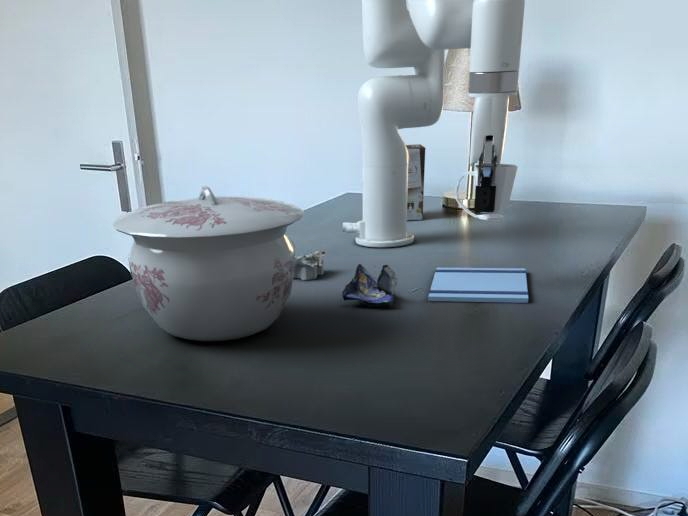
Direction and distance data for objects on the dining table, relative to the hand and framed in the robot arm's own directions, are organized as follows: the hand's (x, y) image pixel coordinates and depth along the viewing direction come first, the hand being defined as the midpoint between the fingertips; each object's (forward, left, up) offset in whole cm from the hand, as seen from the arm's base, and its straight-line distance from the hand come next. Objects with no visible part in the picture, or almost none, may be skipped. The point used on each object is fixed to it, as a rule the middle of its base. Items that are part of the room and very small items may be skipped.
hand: (484, 207), depth 131 cm
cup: (0, 0, -2) cm, 2 cm away
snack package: (-17, -10, -13) cm, 24 cm away
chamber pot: (-39, -27, -13) cm, 49 cm away
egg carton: (-34, +6, -13) cm, 37 cm away
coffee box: (-19, +65, -13) cm, 69 cm away
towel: (0, 0, -13) cm, 13 cm away
